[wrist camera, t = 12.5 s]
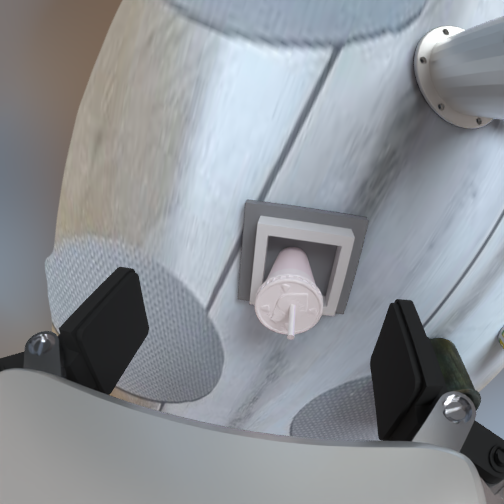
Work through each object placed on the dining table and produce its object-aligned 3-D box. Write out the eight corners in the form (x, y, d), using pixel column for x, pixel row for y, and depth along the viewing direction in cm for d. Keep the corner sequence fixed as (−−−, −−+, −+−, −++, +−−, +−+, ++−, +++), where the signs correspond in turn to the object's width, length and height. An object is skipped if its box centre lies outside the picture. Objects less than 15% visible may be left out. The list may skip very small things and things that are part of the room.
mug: (423, 387, 44) (437, 441, 34) (370, 360, 43) (380, 423, 32) (467, 348, 40) (492, 401, 29) (419, 314, 38) (445, 374, 27)
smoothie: (330, 261, 35) (342, 341, 23) (292, 293, 38) (284, 377, 26) (292, 224, 34) (285, 293, 22) (254, 260, 37) (229, 337, 24)
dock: (366, 217, 34) (373, 228, 30) (342, 308, 39) (345, 326, 36) (247, 199, 35) (241, 209, 32) (239, 294, 41) (234, 310, 37)
